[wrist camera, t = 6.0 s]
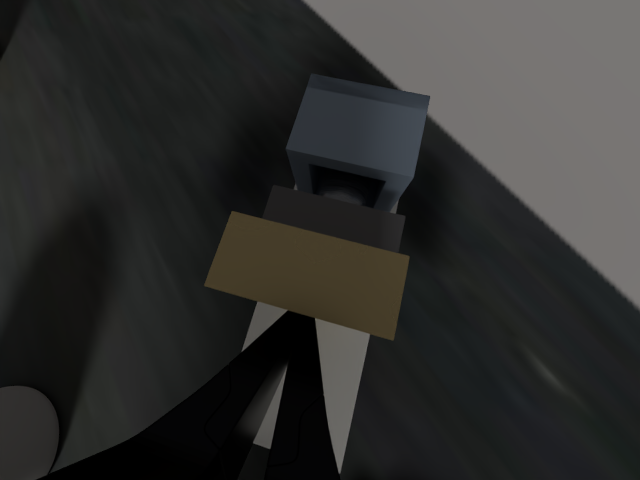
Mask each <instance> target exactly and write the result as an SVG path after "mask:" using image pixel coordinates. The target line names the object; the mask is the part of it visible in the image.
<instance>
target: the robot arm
mask: <svg viewBox="0 0 640 480" xmlns="http://www.w3.org/2000/svg"><path fill="white" fill-rule="evenodd" d="M286 368H287V370H286ZM285 370H286V375H285V380H284V384H283V389H282V394H281V399H280V404H279V409H278V414H277V419H276V424H275V429H274V433H273V438H272V443H271V448H270V453H269V458H268V463H267V469H266V473H265V478H264V480H340V476H339V472H338V467H337V463H336V459H335V454H334V450H333V446H332V441H331V436H330V431H329V426H328V420H327V413H326V406H325V398H324V390H323V381H322V373H321V364H320V355H319V347H318V338H317V329H316V321H315V318H313V317H310V316H306V315H303V314H299V313H296V312H292V311H289V310H287V311H286V312H285V313H284V314H283V315H282V316H281V317H280V318H279V319H277V320H276V321H275V322H274V323H273V324H272V325H271V326H270V327H269V328H268V329H266V330H265V331H264V332H263V333H262V334H261V335H260V336H259V337H258V338H257V339H255V340H254V341H253V342H252V343H251V344H250V345H249V346H248V347H247V348H246V349H244V350H243V351H242V352H241V353H240V354H239V355H238V356H237V357H236V358H234V359H233V360H232V361H231V362H230V363H229V365H227V366H226V367H224V368H223V369H222V370H221V371H220V372H219V373H218V374H217V375H215V376H214V377H213V378H212V379H211V380H210V381H208V382H207V383H206V384H205V385H204V386H202V387H201V388H200V389H198V390H197V391H196V392H195V393H193V394H192V395H191V396H189V397H188V398H187V399H185V400H184V401H183V402H181V403H180V404H179V405H177V406H176V407H175V408H173V409H172V410H171V411H169V412H168V413H166V414H165V415H164V416H162V417H161V418H160V419H158V420H157V421H156V422H154V423H153V424H152V425H150V426H149V427H147V428H146V429H145V430H143V431H142V432H140V433H139V434H137V435H135V436H134V437H132V438H130V439H128V440H126V441H124V442H122V443H120V444H118V445H116V446H114V447H111V448H109V449H107V450H104V451H102V452H99V453H97V454H95V455H92V456H90V457H88V458H85V459H83V460H81V461H78V462H76V463H74V464H71V465H69V466H67V467H64V468H62V469H60V470H57V471H55V472H52V473H50V474H48V475H45V476H43V477H41V478H38V479H36V480H237V478H238V476H239V473H240V471H241V469H242V467H243V464H244V462H245V460H246V458H247V455H248V453H249V451H250V449H251V446H252V444H253V442H254V440H255V437H256V435H257V433H258V431H259V428H260V426H261V424H262V422H263V419H264V417H265V415H266V413H267V410H268V408H269V406H270V404H271V401H272V399H273V397H274V395H275V392H276V390H277V388H278V386H279V383H280V381H281V379H282V377H283V374H284V372H285Z"/></svg>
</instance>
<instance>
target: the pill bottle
mask: <svg viewBox="0 0 640 480" xmlns="http://www.w3.org/2000/svg"><path fill="white" fill-rule="evenodd" d="M58 441H59V423H58V418H57V414H56V411H55V409H54V407H53V405H52V403H51V402H50V400H49V399H48V398H47V397H46V396H45V395H44V394H43V393H41V392H40V391H38V390H36V389H33V388H30V387H25V386H8V387H2V388H0V480H36V479H38V478H41V477H43V476H45V475H47V474H48V472H49V470H50V468H51V466H52V464H53V461H54V458H55V455H56V452H57V447H58Z"/></svg>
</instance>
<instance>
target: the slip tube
mask: <svg viewBox="0 0 640 480" xmlns="http://www.w3.org/2000/svg"><path fill="white" fill-rule="evenodd" d="M371 180H372V178H370V177H366V176H361V175H357V174H353V173H348V172H344V171H339V170H335V169H330V168H326V171H325V174H324V178H323V181H322V184H321V188H320V191H319V196H323V197H328V198H332V199H336V200H340V201H344V202H349V203H353V204H357V205H361V206H365V204H366V200H367V196H368V192H369V188H370V184H371ZM409 258H410V256H407V255H403V254H399V253H395V252H391V251H387V250H383V249H379V248H375V247H371V246H367V245H363V244H359V243H356V242H352V241H348V240H344V239H340V238H336V237H332V236H328V235H324V234H320V233H316V232H312V231H308V230H304V229H300V228H297V227H293V226H289V225H285V224H281V223H277V222H273V221H269V220H265V219H261V218H257V217H253V216H249V215H245V214H242V213H238V212H234V211H232V212H231V215H230V217H229V220H228V223H227V225H226V228H225V231H224V233H223V236H222V239H221V241H220V244H219V247H218V250H217V252H216V255H215V258H214V260H213V263H212V266H211V268H210V271H209V274H208V276H207V279H206V282H205V284H204V286H206V287H210V288H213V289H217V290H220V291H223V292H227V293H230V294H234V295H237V296H241V297H244V298H248V299H251V300H254V301H258V302H261V303H265V304H268V305H272V306H275V307H279V308H282V309H286V310H289V311H292V312H296V313H299V314H303V315H306V316H310V317H313V318H317V319H320V320H324V321H327V322H330V323H334V324H337V325H341V326H344V327H348V328H351V329H355V330H358V331H361V332H365V333H368V334H372V335H375V336H379V337H382V338H386V339H389V340H393V341H394V336H395V330H396V325H397V320H398V315H399V310H400V305H401V299H402V294H403V289H404V284H405V279H406V273H407V268H408V263H409Z"/></svg>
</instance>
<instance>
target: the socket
mask: <svg viewBox="0 0 640 480" xmlns="http://www.w3.org/2000/svg"><path fill="white" fill-rule="evenodd" d="M429 99H430V96H427V95H422V94H416V93H411V92H406V91H401V90H395V89H390V88H385V87H380V86H374V85H369V84H364V83H358V82H353V81H348V80H343V79H337V78H332V77H327V76H321V75H316V74H311V76H310V79H309V82H308V85H307V88H306V91H305V94H304V97H303V100H302V103H301V106H300V108H299V111H298V114H297V117H296V120H295V123H294V126H293V129H292V132H291V135H290V138H289V141H288V144H287V146H286V152H287V155H288V159H289V162H290V165H291V169H292V172H293V176H294V179H295V183H296V186H297V189H298V191H303V192H307V193H311V194H315V195H319V191H320V188H321V184H322V181H323V178H324V174H325V171H326V168H330V169H335V170H339V171H344V172H348V173H353V174H357V175H361V176H366V177H370V178H372V180H371V184H370V188H369V192H368V196H367V200H366V204H365V207H370V208H374V209H378V210H382V211H386V212H390V211H391V209H392V208H393V206H394V205H395V204H396V202H397V201H398V199H399V198H400V196H401V195H402V193H403V192H404V191H405V189H406V188H407V186H408V185H409V183H410V182H411V181H412V179H413V178H414V173H415V168H416V164H417V159H418V154H419V149H420V144H421V139H422V134H423V129H424V124H425V119H426V114H427V109H428V105H429Z"/></svg>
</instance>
